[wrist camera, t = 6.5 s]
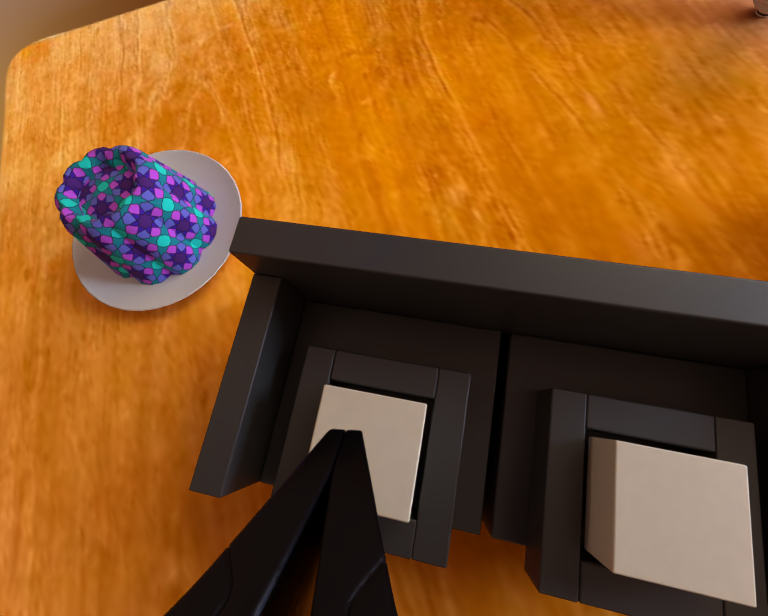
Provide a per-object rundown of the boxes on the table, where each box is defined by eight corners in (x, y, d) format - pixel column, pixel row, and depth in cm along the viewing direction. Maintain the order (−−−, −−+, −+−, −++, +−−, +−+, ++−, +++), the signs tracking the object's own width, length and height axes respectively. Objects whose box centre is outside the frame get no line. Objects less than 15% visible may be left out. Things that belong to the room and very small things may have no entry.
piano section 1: (667, 568, 17) (822, 667, 10) (471, 521, 18) (498, 582, 12) (665, 380, 19) (791, 363, 12) (490, 351, 20) (522, 322, 14)
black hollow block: (695, 556, 17) (1057, 747, 7) (278, 460, 20) (144, 505, 10) (689, 357, 19) (954, 303, 10) (318, 299, 22) (239, 215, 13)
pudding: (50, 247, 26) (-41, 207, 20) (172, 130, 27) (115, 67, 22) (153, 351, 22) (76, 334, 17) (282, 212, 24) (246, 160, 19)
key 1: (703, 577, 11) (758, 609, 10) (583, 548, 12) (612, 573, 10) (699, 457, 12) (748, 465, 10) (587, 436, 13) (615, 439, 11)
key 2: (411, 507, 13) (409, 523, 11) (315, 485, 13) (298, 496, 12) (426, 405, 14) (427, 404, 12) (336, 387, 14) (323, 384, 12)
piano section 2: (463, 520, 18) (485, 579, 12) (295, 480, 20) (231, 513, 13) (483, 349, 20) (511, 320, 14) (331, 324, 22) (292, 287, 15)
